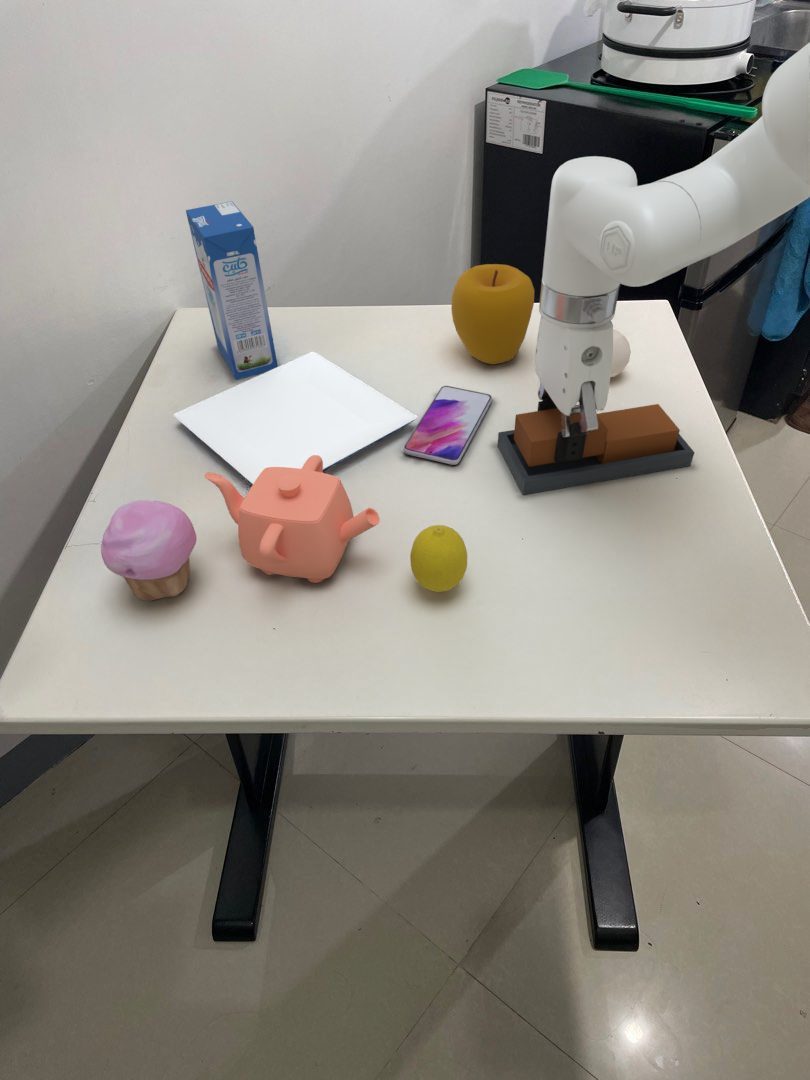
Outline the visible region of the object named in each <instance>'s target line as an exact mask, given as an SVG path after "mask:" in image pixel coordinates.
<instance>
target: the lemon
mask: <svg viewBox="0 0 810 1080" xmlns="http://www.w3.org/2000/svg"><path fill="white" fill-rule="evenodd" d="M409 555H410V556H409V558H410V559H409V560H410V569H411V572H412V575H413V577H414V579H415V580H416V582H417V583H418V584H419V585H420V586H422V587H423V588H425V590H428V591H431V592H436V593H441V592H442V593H443V592H447V591H450V590H452V589H454V588H455V587H457V586H458V585H459V583H460V582H461V581H462V580H463V578H464V577H465V575H466V572H467V568H468V550H467V547H466V543H465V541H464V539H463V538H462V536H461V535H460V533H459V532H458V531H457V530H455V529H454V528H452V527H450V526H448V525H443V524H435V525H431V526H428V527H426V528H424V529H422V530H421V531H420V532H419V533H418V534H417V536H416V537H415V539H414V541H413V543H412V547H411V549H410V554H409Z"/></svg>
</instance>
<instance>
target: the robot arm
mask: <svg viewBox="0 0 810 1080" xmlns="http://www.w3.org/2000/svg"><path fill="white" fill-rule="evenodd" d="M763 90H764V91H763V95H762V99H761V116H760V117H759V118H758V119H757V120H756V121H755V122H754V123H752V124H751V125H750V126H749V127H748V128H747V129H745V130H744V131H743V132H742V133H740V134H739V135H738V136H736V137H735V138H734V139H732V140H731V141H730V142H728V143H727V144H726V145H724V146H723V147H722V148H720V149H719V150H718V151H717V152H715V153H714V154H712V155H711V156H709V157H708V158H707V159H705V160H704V161H702V162H700V163H699V164H697V165H695V166H693V167H692V168H689V169H686V170H683V171H680V172H677V173H674V174H671V175H669V176H666V177H663V178H661V179H658V180H656V181H653V182H650V183H645V184H641V185H638V178H637V173H636V171H635V170H634V168H633V166H631V165H630V164H628V163H627V162H625V161H622V160H620V159H616V158H612V157H609V156H608V157H607V156H599V155H598V156H597V155H593V156H582V157H578V158H577V157H576V158H573V159H569V160H567V161H565V162H564V163H563V164H561V165H559V167H558V168H557V169H556V171H555V172H554V174H553V177H552V179H551V185H550V186H551V187H550V195H549V203H548V216H547V225H546V235H545V247H544V254H543V255H544V256H543V265H542V266H543V267H542V277H541V285H540V294H539V304H538V312H539V315H540V320H539V325H538V331H537V339H536V345H535V355H534V356H535V357H534V369H535V374H536V376H537V378H538V380H539V383H540V384H539V387H538V390H537V397H538V400H539V401H538V403H537V410H536V411H542V410H549V409H555V408H558V409H559V410H560V411H561V428H562V432H558V435H557V443H556V450H555V458H554V459H555V461H556V463H564V462H570V461H576V460H580V459H582V457H583V452H584V446H585V440H586V434H589V432H590V431H593V430H597V429H598V420H597V414H598V411H604V410H605V409H606V406H607V402H608V397H609V390H610V385H611V384H610V383H611V377H610V376H611V367H612V356H613V330H614V324H613V321H612V320H613V319H614V318H615V314H616V309H617V303H618V299H619V298H618V297H619V292H620V287H621V285H624V286H627V287H634V288H635V287H643V286H647V285H649V284H653V283H655V282H657V281H660V280H662V279H663V278H667V277H668V276H671V275H672V274H675V273H677V272H679V271H680V270H682V269H684V268H686V267H689V266H691V265H693V264H695V263H697V262H700V261H702V260H705V259H707V258H708V257H711V256H714V255H716V254H718V253H720V252H722V251H723V250H725V249H728V248H729V247H731V246H732V245H734V244H735V243H738V242H739V241H741V240H742V239H744V238H746V237H747V236H749V235H751V234H752V233H754V232H755V231H758V230H759V229H760V228H762V227H764V226H765V225H767V224H770V222H773V221H774V220H776V219H777V218H778V217H780V216H782V215H784V214H785V213H787V212H789V211H790V210H792V209H794V208H795V207H796V206H798V205H800V204H801V203H803V202H805V201H806V200H808V199H809V198H810V41H809V42H807V44H806V45H804V46H803V47H802V48H801V49H799V50H798V51H797V52H795V53H794V54H793V55H791V56H790V57H789V58H788V59H787V60H785V61H784V62H783V63H782V64H780V65H779V66H778V67H777V68H776V70H774V72H772V74H771V76H770V77H769V78H768V81H767V83H766V85H765V88H764V89H763ZM575 405H576V406H575ZM579 413H581V421H579V422H575V423H573V424H571V425H570V415H573V414H579Z"/></svg>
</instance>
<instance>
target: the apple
mask: <svg viewBox="0 0 810 1080" xmlns="http://www.w3.org/2000/svg"><path fill="white" fill-rule="evenodd" d="M451 295H452V296H451V316H452V322H453V325H454V328H455V331H456V333H457V335H458V337H459V339H460V340H461V342H462V344H463V346H464V348H465V349H466V350H467V352H468V353H469V354H470V356H472V357H473V358H475V359H476V360H478V361H480V362H481V363H484V364H488V365H497V364H503V363H506V362H509V361H511V360H513V358H514V357H515V356H516V355H517V354H518V352H519V350H520V349H521V346H522V344H523V342H524V341H525V339H526V335H527V332H528V328H529V325H530V321H531V317H532V313H533V309H534V305H535V288H534V285H533V282H532V279H531V278H530V277H529V276H528V275H527V274H525V273H524V272H523V271H521V270H519V269H518V268H516V267H514V266H511V265H508V264H499V263H491V264H490V263H486V264H480V265H475V266H473V267H470V268H469V269H467V270H465V271H464V272H463V273H461V274H460V276H459V277H458V279H457V281H456V283H455V285H454V287H453V292H452V294H451Z"/></svg>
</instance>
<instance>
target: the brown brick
mask: <svg viewBox="0 0 810 1080" xmlns="http://www.w3.org/2000/svg"><path fill="white" fill-rule="evenodd" d="M576 405H577V404H576ZM576 405H575V406H576ZM597 420H598V429H597V430H593V431H590V432H589V434H586V440H585V446H584V452H583V457H582V458H584V457H590V456H596V455H602V454H603V453H604V448H605V443H606V437H607V432H608V429H607V428H606V426H605V425H604V423H603V422H602V421H601V419H600V418H599V416H598V415H597ZM579 421H581V413H579V414H573V415H570V425H571V424H573V423H575V422H579ZM513 430H514V440H515V442H516V444H517V446H518V448H519V449H520V451H521V453H522V455H523V457H524V459H525V460H526V462H527V464H528V466H529V467H531V466H537V465H543V464H549V463H554V462H556V461H555V459H554V458H555V450H556V443H557V435H558V432H562V428H561V411H560V410H559V409H558V408H555V409H549V410H542V411H537V410H536V411H531V412H523V413H518V414H515V418H514V429H513Z"/></svg>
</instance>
